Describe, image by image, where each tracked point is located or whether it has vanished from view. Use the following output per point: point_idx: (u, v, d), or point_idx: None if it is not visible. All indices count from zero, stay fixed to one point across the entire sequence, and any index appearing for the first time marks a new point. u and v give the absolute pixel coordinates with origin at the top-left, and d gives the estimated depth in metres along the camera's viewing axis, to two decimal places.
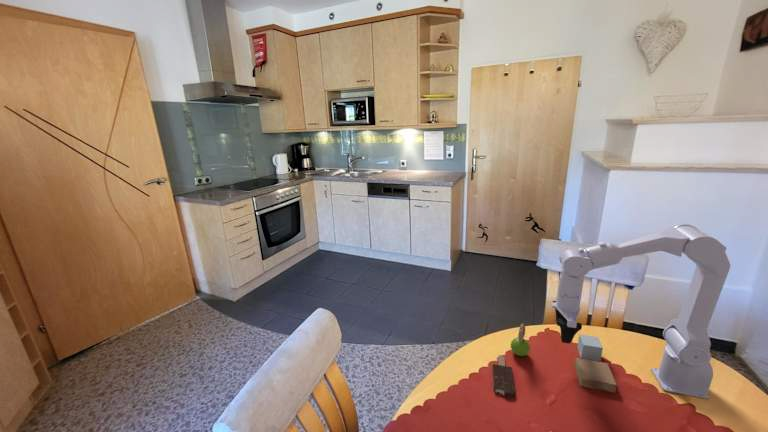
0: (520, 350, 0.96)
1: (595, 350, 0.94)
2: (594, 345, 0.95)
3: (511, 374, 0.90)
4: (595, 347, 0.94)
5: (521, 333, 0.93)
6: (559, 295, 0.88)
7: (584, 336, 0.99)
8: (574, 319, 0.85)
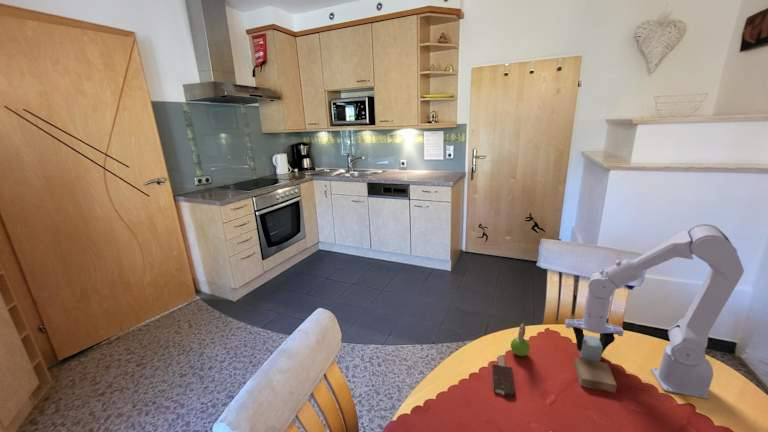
0: (520, 350, 0.96)
1: (595, 349, 0.94)
2: (594, 344, 0.95)
3: (511, 374, 0.90)
4: (595, 347, 0.94)
5: (521, 333, 0.93)
6: None
7: (584, 336, 0.98)
8: (572, 324, 0.96)
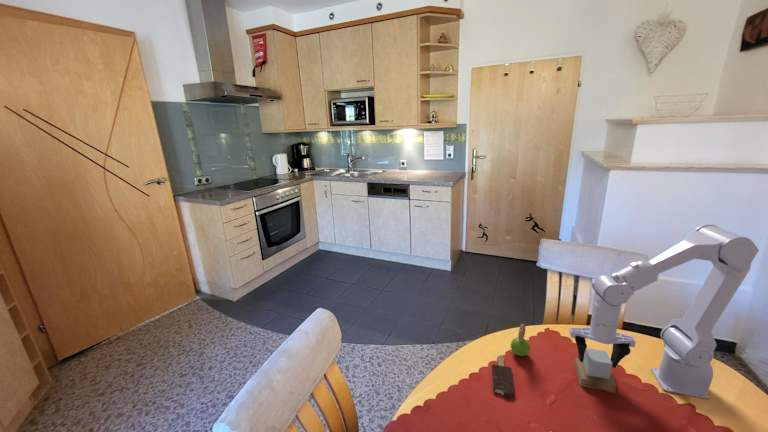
0: (520, 350, 0.96)
1: (604, 366, 0.85)
2: (602, 360, 0.85)
3: (510, 374, 0.90)
4: (604, 363, 0.85)
5: (521, 333, 0.93)
6: None
7: (591, 350, 0.89)
8: (578, 333, 0.86)
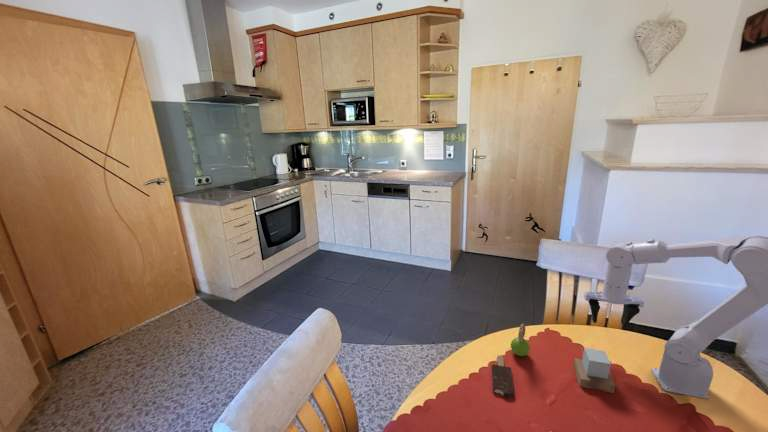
0: (520, 350, 0.96)
1: (602, 366, 0.85)
2: (601, 360, 0.85)
3: (510, 374, 0.90)
4: (603, 363, 0.85)
5: (521, 333, 0.93)
6: None
7: (589, 350, 0.89)
8: (592, 296, 0.96)
